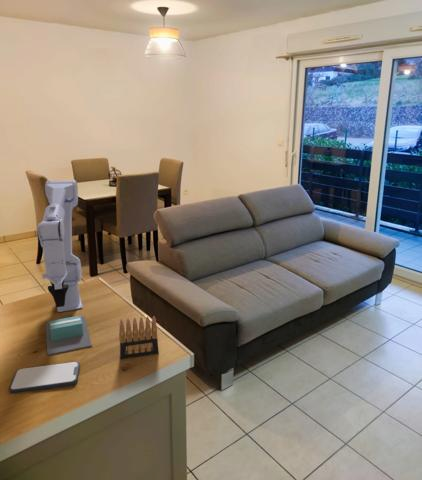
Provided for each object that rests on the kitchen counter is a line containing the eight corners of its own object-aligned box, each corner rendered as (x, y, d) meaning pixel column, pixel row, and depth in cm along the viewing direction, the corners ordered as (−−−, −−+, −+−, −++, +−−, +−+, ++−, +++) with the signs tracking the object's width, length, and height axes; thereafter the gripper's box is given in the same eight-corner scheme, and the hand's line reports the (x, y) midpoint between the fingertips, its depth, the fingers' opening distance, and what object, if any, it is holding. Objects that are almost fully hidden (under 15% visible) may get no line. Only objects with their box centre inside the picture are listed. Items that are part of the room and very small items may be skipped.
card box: (81, 326, 122) (80, 315, 121) (83, 334, 118) (82, 322, 116) (50, 332, 119) (49, 320, 117) (51, 341, 114) (50, 328, 113)
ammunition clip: (157, 350, 112) (156, 313, 108) (158, 353, 110) (157, 316, 106) (120, 355, 109) (117, 318, 105) (120, 359, 108) (117, 321, 104)
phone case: (8, 396, 94) (77, 386, 97) (7, 391, 94) (76, 381, 97) (17, 373, 102) (80, 365, 105) (16, 368, 102) (80, 360, 105)
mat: (45, 324, 124) (45, 322, 124) (84, 316, 129) (84, 315, 128) (47, 355, 108) (47, 354, 108) (91, 346, 113) (91, 345, 113)
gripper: (39, 253, 120) (45, 292, 124) (40, 270, 107) (46, 314, 112) (64, 250, 122) (68, 289, 127) (67, 267, 110) (72, 309, 114)
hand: (59, 300), depth 119 cm, fingers open, 7 cm apart
